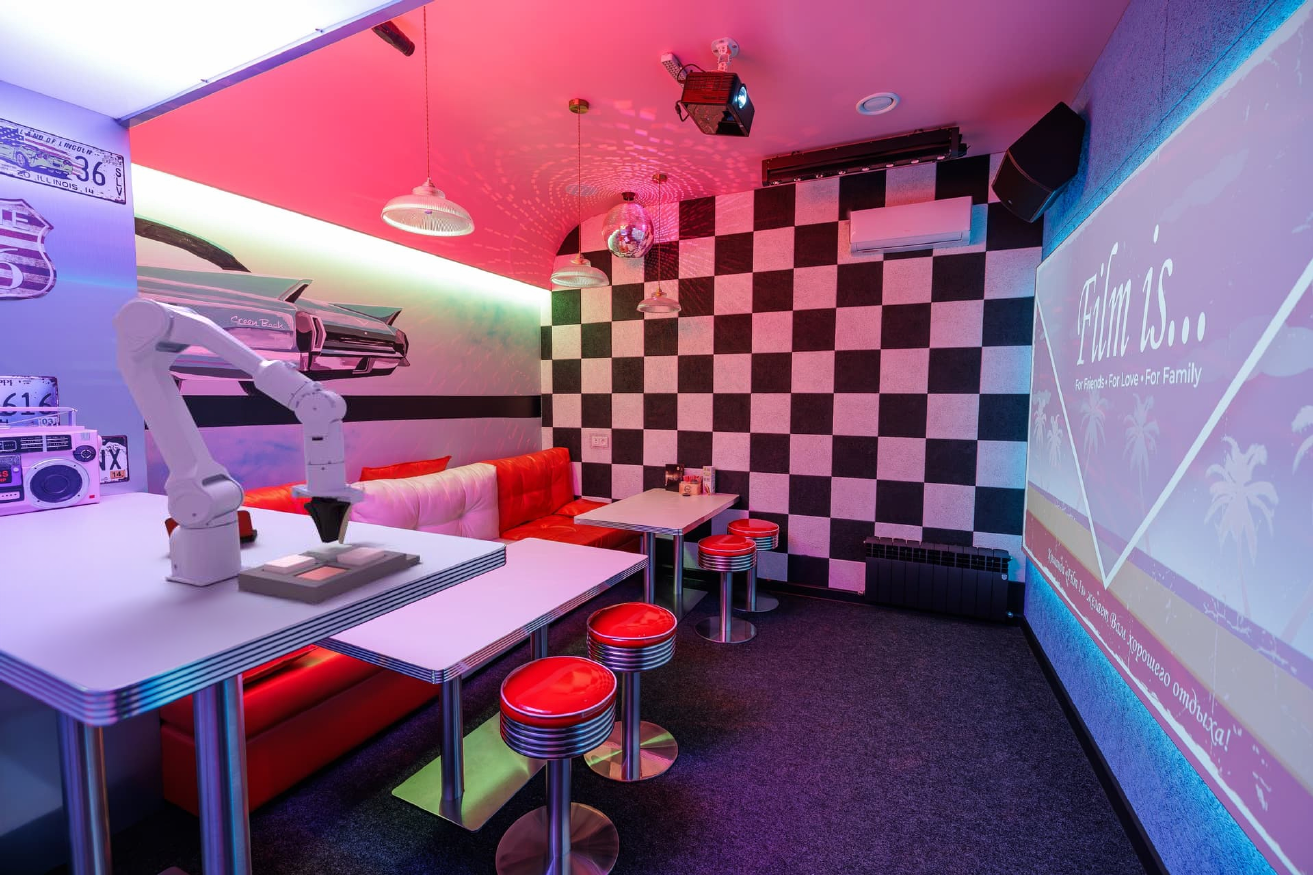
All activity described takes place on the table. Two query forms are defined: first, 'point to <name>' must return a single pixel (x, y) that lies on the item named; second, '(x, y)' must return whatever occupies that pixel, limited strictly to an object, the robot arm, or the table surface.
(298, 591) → the keypad frame
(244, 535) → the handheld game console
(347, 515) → the ice cream cone
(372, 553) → the ivory key
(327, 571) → the coral key
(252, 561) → the table surface
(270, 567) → the ivory key
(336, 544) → the mint key
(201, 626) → the table surface
